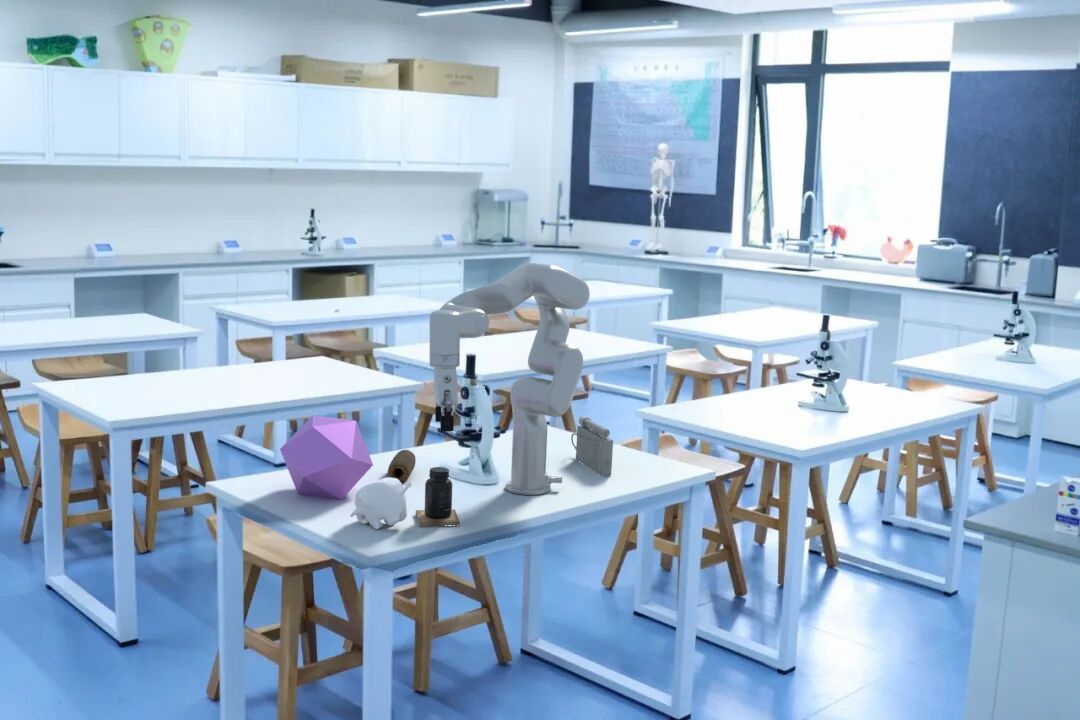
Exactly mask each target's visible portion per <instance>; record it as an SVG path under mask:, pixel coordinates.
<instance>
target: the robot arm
mask: <svg viewBox="0 0 1080 720" xmlns="http://www.w3.org/2000/svg"><path fill="white" fill-rule="evenodd" d="M590 293H591V292H590V289H589V286H588V284H587V283H586V281H584V279H582V278H581V277H579V276H576V275H575V274H572V273H570V272H569V271H566V270H565V269H563V268H561V267H558V266H556V265H552V264H545V263H536V262H526V263H522V264H521V265H519V266H518V267H516V268H515V269H513V270H511V271H510V272H509V273H507V274H506V275H504V276H502V277H501V278H499V279H498V280H496V281H495V282H493V283H491V284H486V285H483V286H480V287H477V288H474V289H470V290H467V291H465V292H462V293H459V294H458V295H456V296H454V297H453V298H451V299H450V300H448V301H447V302H446V303H444V304H443V305H442V306H441V307H440V308H439V310H438V309H437V310H433V311H432V312H431V313H430V315H429V367H431V368H433V395H434V398H433V399H434V401H435V407H434V409H435V422H436V423H440V432H442V433H444V432H447V433H448V432H453V431H454V423H455V422H454V421H455V420H454V418H455V417H454V407H457V406H459V405H458V403H459V402H458V401H459V400H458V399H459V397H458V375H457V373H458V372H457V368H459V367H460V365H461V364H460V362H461V361H460V360H461V359H460V356H461V355H460V352H461V351H460V350H461V346H460V345H461V339H463V338H464V339H468V338H469V339H472V338H473V339H476V338H479V337H481V336H483V335H484V334H485V333H486V332H487V331H488V329H489V326H490V318H489V316H488V315H498V314H504V313H509V312H511V311H513V310H514V309H516V308H517V307H518V306H520V305H521V304H523V303H524V302H525V301H527V300H528V299H530V298H531V297H534V300H535V302H536V305H537V309H538V312H539V313H538V314H539V323H538V327H537V331H536V333H535V337H534V339H533V342H532V346H531V347H530V350H529V351H530V352H529V354H528V357H527V366H528V368H529V369H530V371H532V372H534V373H536V374H539V375H543V376H548V377H552V379H551V380H550V379H547V378H546V379H545V378H540V377H536V376H530V375H529V376H528V375H527V376H526V375H525V376H521V377H520V378H517V379H516V380H515V381H514V382H513V383H512V384H511V385H512V386H511V387H510V391H509V392H510V404H511V410H512V442H511V443H512V444H511V445H512V446H511V448H512V449H511V473H510V475H511V476H510V480H508V481H506V482H505V485H504V487H505V490H506V491H508V492H510V493H513V494H517V495H526V496H537V495H543V494H546V493H548V492H550V491H551V488H552V487H551V486H552V484H563V476H561V475H560V476H559V475H556V474H548V473H547V470H546V469H547V446H548V423H547V420H546V417H545V416H548V417H553V418H559V417H561V416H564V415H565V414H566V413H567V412H568V410H569V408H570V406H571V404H572V401H573V399H574V396H575V392H576V390H577V387H578V384H579V381H580V378H581V374H582V371H583V367H584V356H583V353H582V351H581V349H580V348H579V347H577V346H575V345H573V344H569V343H567V339H568V336H569V332H570V321H569V316H568V315H567V312H566V309H567V310H574V311H575V310H576V311H578V310H582V309H583V308H585V306H586V305H587V304H588V302H589V301H590ZM453 406H454V407H453Z"/></svg>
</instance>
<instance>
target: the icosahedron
mask: <svg viewBox="0 0 1080 720" xmlns="http://www.w3.org/2000/svg"><path fill="white" fill-rule="evenodd" d="M358 424H359V423H358V422H357V420H353V419H345V418H337V417H329V416H320V415H311V417H310V418H308V419H307V420H306V421H305V423H303V424H302V426H301V427H299V429H298V430H297V431H296V432H295V433H294V434H293V435H292V436H291V437H290V438H289V439H288V440H287V441H286V442H285V443H284V444H283V445H282V446H281V447H280V448H279V450H280V453H281V455H282V458H283V461H284V462H285V463H284V464H285V465H286V468H287V470H288V473H289V476H290V477H291V481H292V482H293V485H294V488H295V490H296V493H297V494H298V493H299V495H306V496H313V497H320V498H327V499H333V500H339V501H340V500H341V501H342V500H343V499H344V498H345V497H346V496H347V494H349V492H351V490H352V489H353V488H354V487H355V486H356V485H357V483H359V481H360V480H361V479H362V478H363V477H364V476H365V475H366V474H367V472H369V470H370V469H371V468H372V467H373V466H374V464H373V461H372V458H371V456H370V453H369V450H368V448H367V445H366V442H365V441H364V438H363V435H362V432H361V430H360V427H359V425H358Z"/></svg>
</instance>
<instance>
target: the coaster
mask: <svg viewBox="0 0 1080 720" xmlns="http://www.w3.org/2000/svg"><path fill="white" fill-rule="evenodd" d="M415 517H416V521H417V524H418V527H419V528H426V527H425V526H445V525H447V527H449V526H448V525H452V526H451V527H458V526H457V525H460V524H461V521H460V519H459V516H458V513H457V512H456V509H455V508H454V509H453V508H452V513H451V516H450V517H448V518H445V519H432V518H429V517H427V516H426V515H425V509H420V510H419V509H416V510H415ZM453 525H455V526H453Z"/></svg>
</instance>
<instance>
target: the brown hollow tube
mask: <svg viewBox="0 0 1080 720" xmlns="http://www.w3.org/2000/svg"><path fill="white" fill-rule="evenodd" d="M415 466H416V455H415V454H414V452H412V451H411V450H409V449H402V450H400V451H398V452H397V453H396V454H395V455H394V457H393V459H392V460H391V462H390V463H389V465H388V469H387V474H388V478H396V479H398V480H399V481H400V482H403V481H407V480H408V478H409V477H410V476H411V475H412V472H413V471H414V469H415Z"/></svg>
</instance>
